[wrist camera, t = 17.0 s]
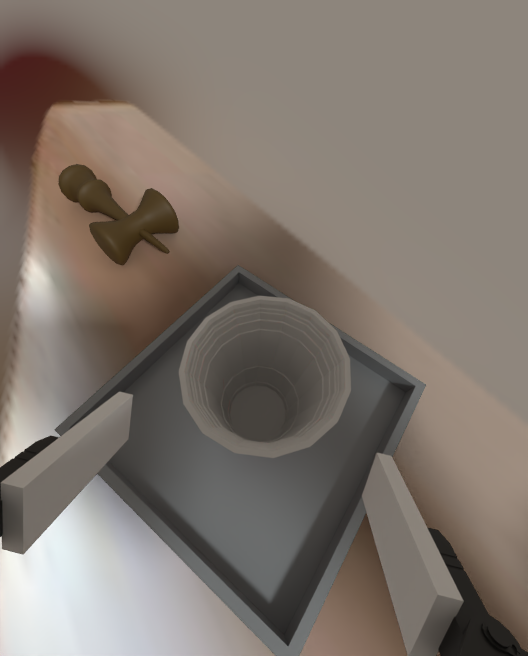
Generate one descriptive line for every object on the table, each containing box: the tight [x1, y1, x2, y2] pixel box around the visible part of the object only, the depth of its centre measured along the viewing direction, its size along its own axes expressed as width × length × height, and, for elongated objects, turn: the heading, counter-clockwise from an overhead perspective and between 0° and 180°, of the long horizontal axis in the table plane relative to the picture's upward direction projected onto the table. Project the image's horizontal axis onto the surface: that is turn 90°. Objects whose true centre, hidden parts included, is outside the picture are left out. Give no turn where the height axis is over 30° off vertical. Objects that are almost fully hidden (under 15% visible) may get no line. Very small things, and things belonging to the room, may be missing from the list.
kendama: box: [59, 164, 179, 265], centre depth 39 cm, size 6×10×20 cm
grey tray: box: [55, 265, 426, 656], centre depth 28 cm, size 24×24×3 cm
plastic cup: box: [179, 296, 351, 458], centre depth 23 cm, size 11×11×12 cm
